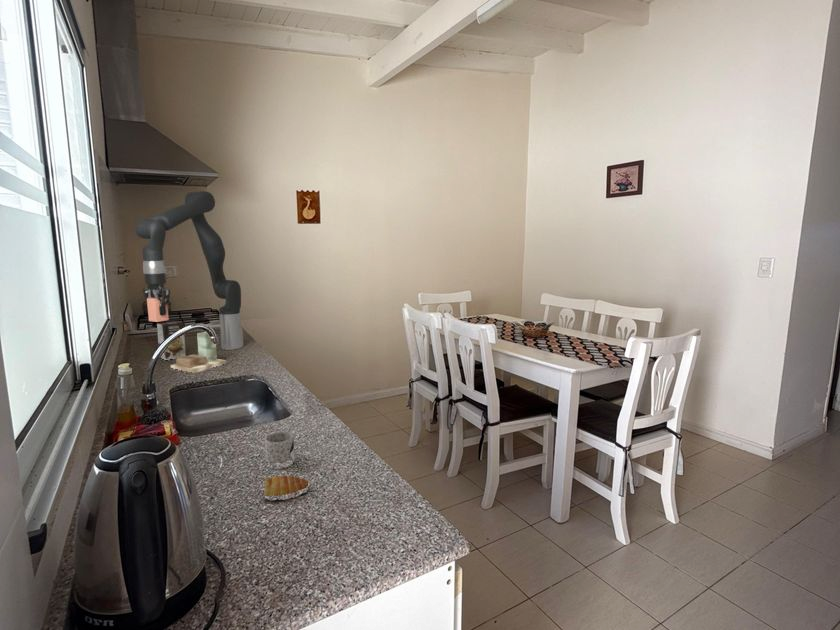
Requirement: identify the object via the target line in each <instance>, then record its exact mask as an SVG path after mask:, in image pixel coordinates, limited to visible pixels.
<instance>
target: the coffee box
mask: <svg viewBox="0 0 840 630" xmlns="http://www.w3.org/2000/svg"><path fill="white" fill-rule="evenodd" d="M156 328H157V342H158V343H157V345H158V346H159V345H160V344H161V343H162V342H163V341H164V340H165V339H166V338H167V337H169V336H170V335H171V334H173V333H174V332H176V331H178V330H179V329H182V328H184V329H185V327H184V321H178V320H177V321H176V320H175V321H166V322H159V323H158V322H156ZM185 340H186V339H185V334H184V335H182V336H180V337H179V338H177V339H176V340H174V341H173V342H172V343H171V344H170V345H169V346H168V348H167V349H166V350H165V352H164V353H163V354H162V356H161V358H162V359H164V360H163V361H165V360H168V361H171V360H170V359H173V360H176V358H181V357H185V356H187V355H186V354H187V353H186V341H185ZM162 359H161V360H162Z"/></svg>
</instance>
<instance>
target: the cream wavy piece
mask: <svg viewBox="0 0 840 630" xmlns="http://www.w3.org/2000/svg"><path fill="white" fill-rule="evenodd" d="M196 338H197V354H189V355H186V356H185V357H181V358H177V359H175V363H174V364H170V369H171V368H173V369H172V370H175V369H178V370H177V371H181V370H182V372H186V371H187V373H191V372H192V374H196V373H200V372H203V371H206V370H210V369H213V367H214V368H217V367H219V366H220V367H221V366H223V364H224V365H226V364H227V360H225V359H220V358H217V357H218V356H217V343H216V344H214V343H213V342H212V341H211V339H210V336H209V334H208V333H207V332H206V331H201V332H197V333H196ZM216 366H217V367H216Z"/></svg>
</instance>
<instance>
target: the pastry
mask: <svg viewBox="0 0 840 630" xmlns="http://www.w3.org/2000/svg"><path fill="white" fill-rule="evenodd" d="M308 482H309V481H308V480H307V479H305V478H303V477H302V478H301V477H298V476H293V475H289V476H288V475H287V476H286V475H285V474H283V475H281V476H279V475H274V476H273V477H266V478H265V481H264V491H263V492H264V493H263V494H264V495H265V496H271V495H272V496H273V495H274V496H278V495H285V494H289V493H293V492H296V491H298V490H301V489H304V488H306V487H307V486H308ZM264 495H263V496H264Z"/></svg>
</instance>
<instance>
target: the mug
mask: <svg viewBox="0 0 840 630" xmlns="http://www.w3.org/2000/svg"><path fill="white" fill-rule="evenodd" d="M294 438H295V437H294V434H293V433H292V432H289V431H276V432H272V433H270V434H267V435H266V436H265V437H264V448H265V452H264V453H265V461H266V460H267V461H268V462H270V463H283V462H287V461H289V460H291V459H292V458H293V457H294V458H295V441H294V440H295V439H294Z"/></svg>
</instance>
